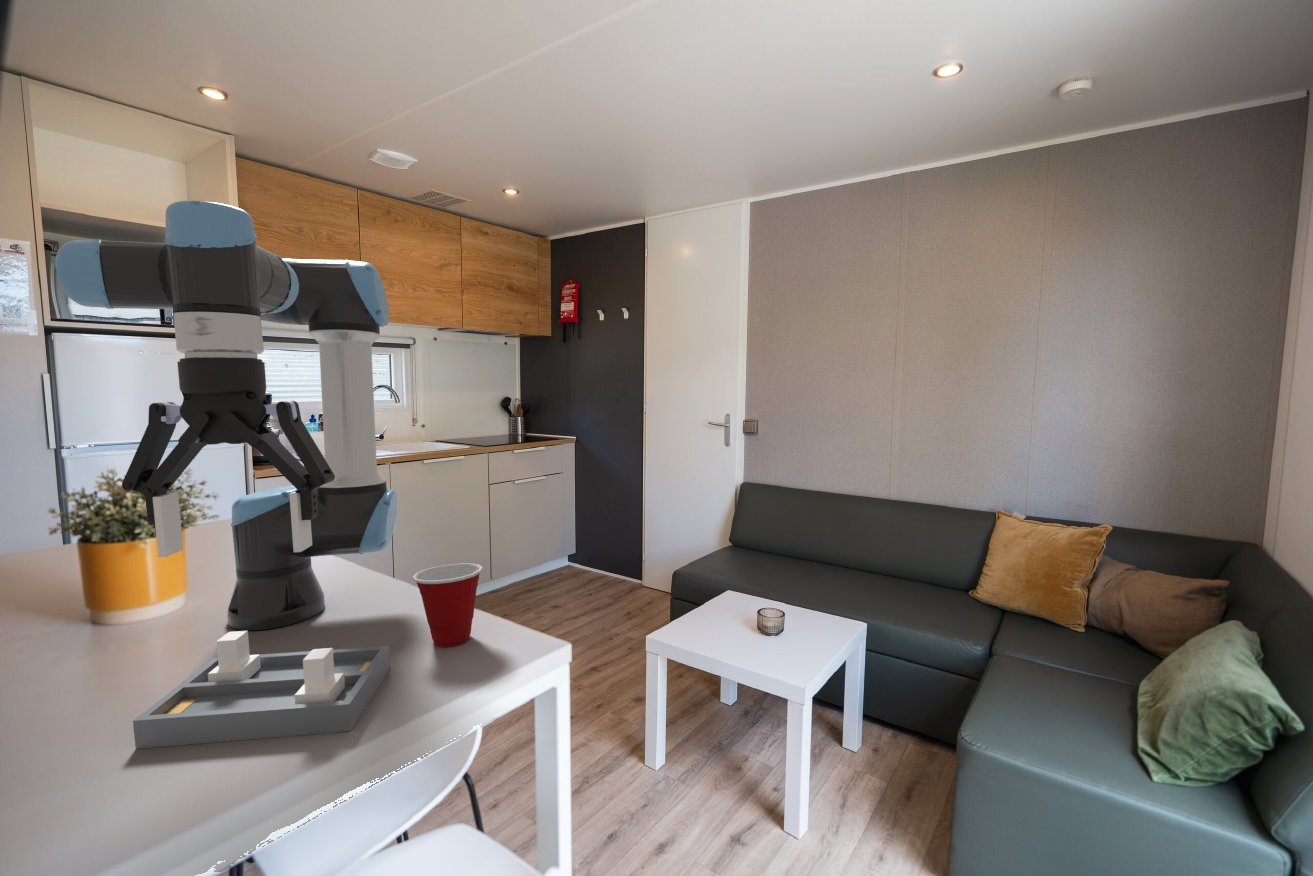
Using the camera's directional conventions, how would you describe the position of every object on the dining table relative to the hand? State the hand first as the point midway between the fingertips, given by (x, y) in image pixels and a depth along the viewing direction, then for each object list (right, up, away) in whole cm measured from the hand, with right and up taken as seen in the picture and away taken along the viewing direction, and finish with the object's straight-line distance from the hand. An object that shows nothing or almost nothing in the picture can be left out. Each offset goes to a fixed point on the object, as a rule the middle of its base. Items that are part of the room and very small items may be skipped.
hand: (237, 551), depth 66 cm
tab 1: (-12, -21, +17) cm, 29 cm away
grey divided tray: (-5, -23, +14) cm, 28 cm away
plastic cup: (+12, -21, +34) cm, 41 cm away
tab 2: (+3, -21, +11) cm, 24 cm away
